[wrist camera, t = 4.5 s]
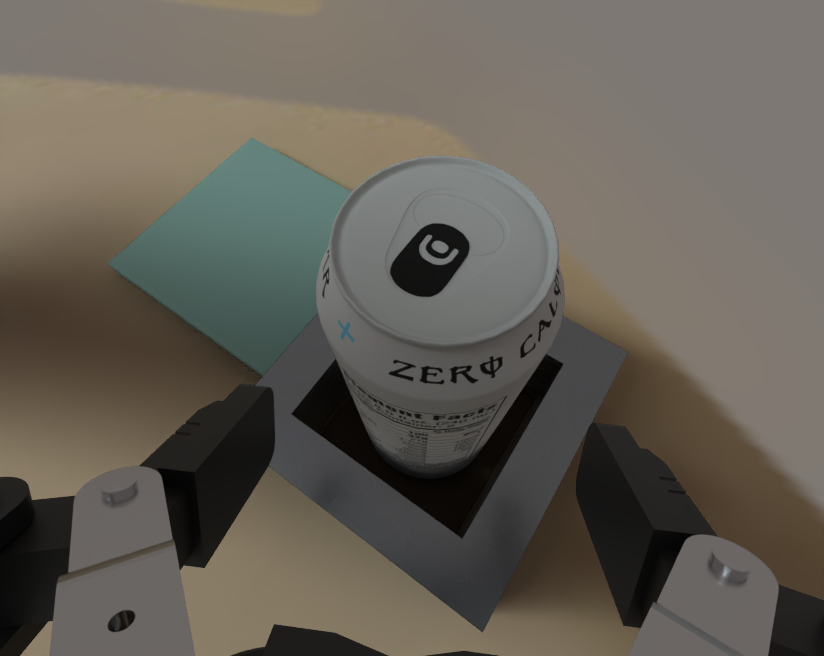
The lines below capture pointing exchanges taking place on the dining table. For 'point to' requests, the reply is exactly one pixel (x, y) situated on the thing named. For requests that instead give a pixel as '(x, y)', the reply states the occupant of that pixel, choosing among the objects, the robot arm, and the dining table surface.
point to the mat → (241, 253)
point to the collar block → (498, 501)
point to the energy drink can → (439, 305)
